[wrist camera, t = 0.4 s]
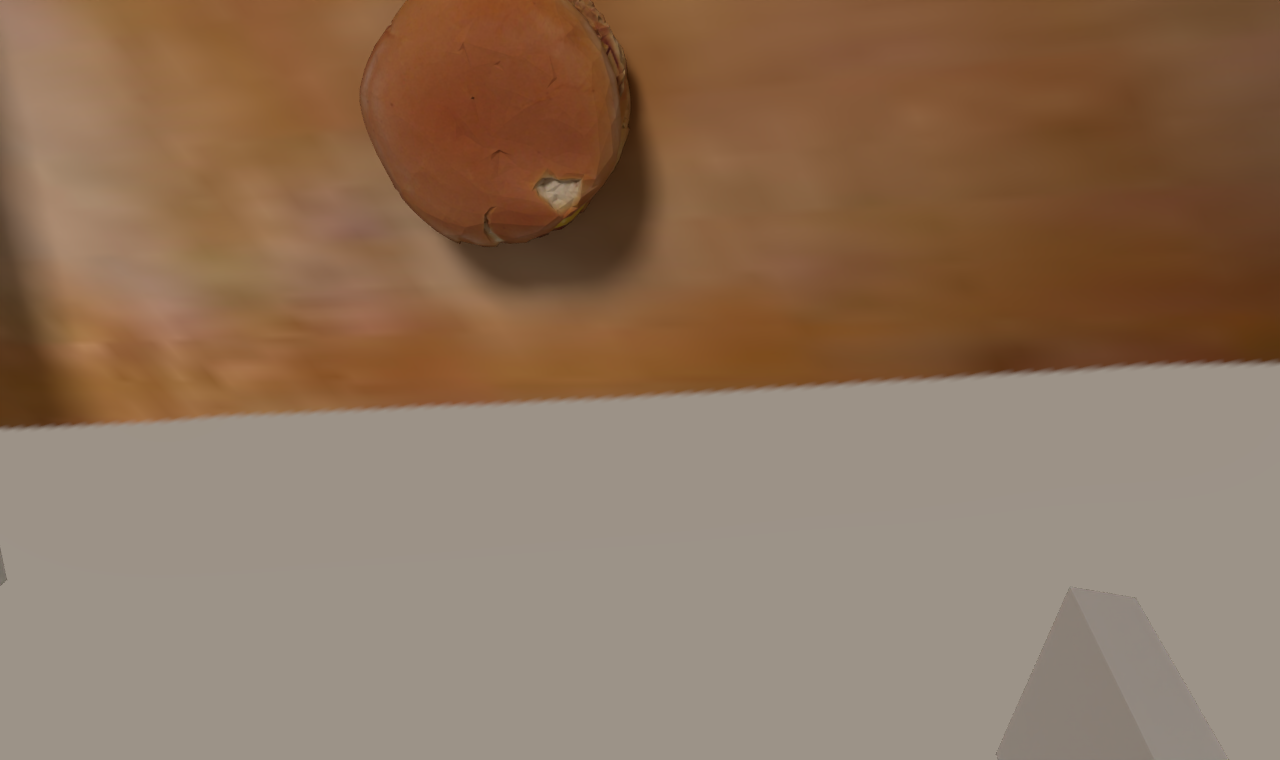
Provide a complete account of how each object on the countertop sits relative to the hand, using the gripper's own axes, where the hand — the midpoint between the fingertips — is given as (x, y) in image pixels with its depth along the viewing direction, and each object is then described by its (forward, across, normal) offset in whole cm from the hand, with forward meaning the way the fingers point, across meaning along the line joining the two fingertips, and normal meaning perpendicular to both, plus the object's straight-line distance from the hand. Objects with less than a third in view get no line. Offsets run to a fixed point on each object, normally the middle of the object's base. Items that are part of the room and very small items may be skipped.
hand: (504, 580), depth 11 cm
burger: (+28, -6, 0) cm, 28 cm away
